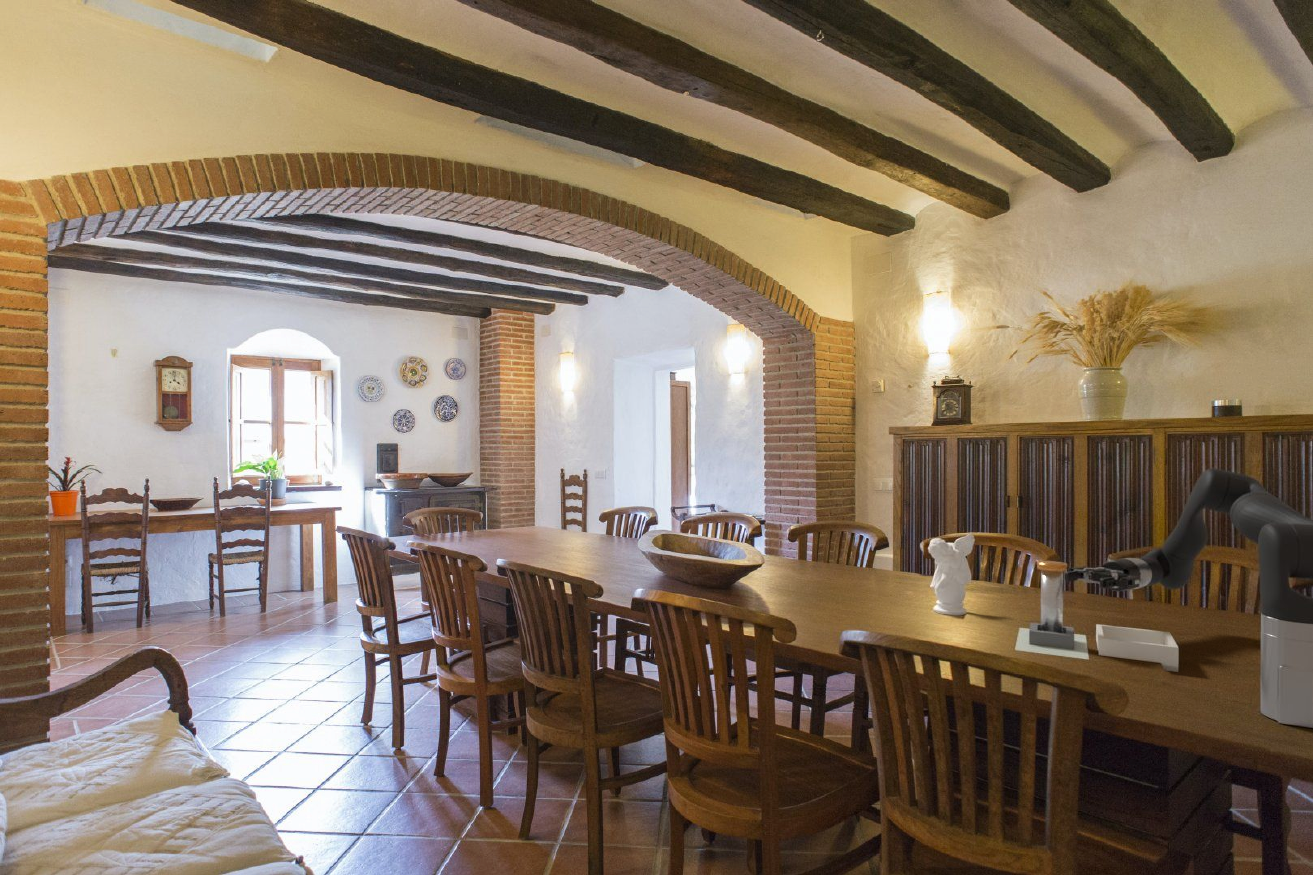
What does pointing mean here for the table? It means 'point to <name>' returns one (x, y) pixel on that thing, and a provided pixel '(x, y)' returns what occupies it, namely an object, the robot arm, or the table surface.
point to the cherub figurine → (951, 573)
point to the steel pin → (1052, 595)
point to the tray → (1138, 645)
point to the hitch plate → (1052, 642)
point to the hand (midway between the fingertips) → (1083, 580)
